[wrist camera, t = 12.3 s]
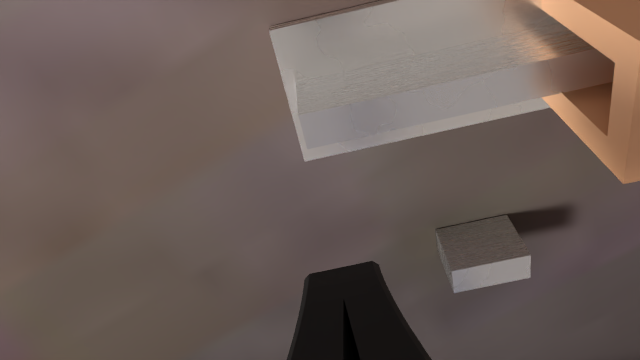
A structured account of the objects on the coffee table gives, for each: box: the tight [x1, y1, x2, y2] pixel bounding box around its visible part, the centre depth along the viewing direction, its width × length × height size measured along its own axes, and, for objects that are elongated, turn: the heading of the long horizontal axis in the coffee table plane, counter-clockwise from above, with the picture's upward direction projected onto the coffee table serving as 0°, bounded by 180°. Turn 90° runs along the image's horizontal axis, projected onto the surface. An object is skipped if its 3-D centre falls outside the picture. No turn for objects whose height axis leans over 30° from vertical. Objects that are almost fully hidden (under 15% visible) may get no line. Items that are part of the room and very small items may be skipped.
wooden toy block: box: [436, 215, 531, 293], centre depth 22 cm, size 1×3×2 cm, turn 102°
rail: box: [269, 0, 615, 161], centre depth 17 cm, size 5×18×3 cm, turn 102°
